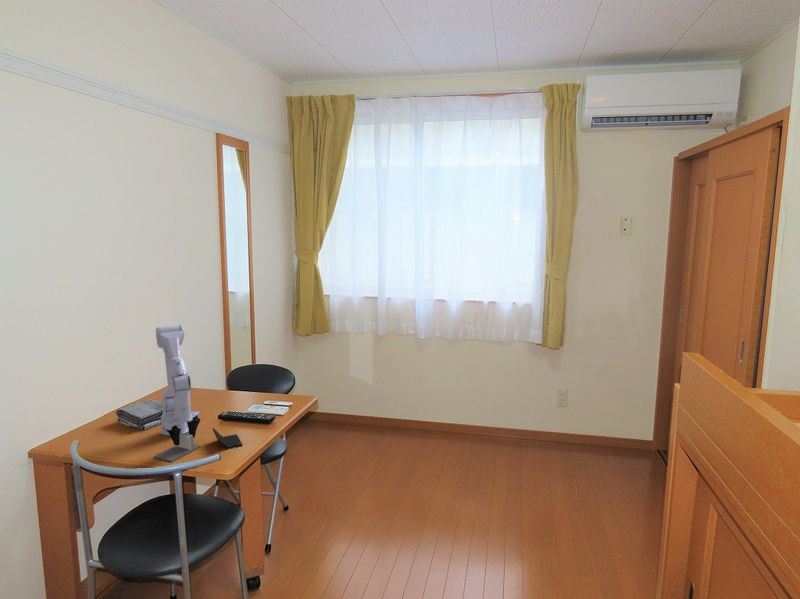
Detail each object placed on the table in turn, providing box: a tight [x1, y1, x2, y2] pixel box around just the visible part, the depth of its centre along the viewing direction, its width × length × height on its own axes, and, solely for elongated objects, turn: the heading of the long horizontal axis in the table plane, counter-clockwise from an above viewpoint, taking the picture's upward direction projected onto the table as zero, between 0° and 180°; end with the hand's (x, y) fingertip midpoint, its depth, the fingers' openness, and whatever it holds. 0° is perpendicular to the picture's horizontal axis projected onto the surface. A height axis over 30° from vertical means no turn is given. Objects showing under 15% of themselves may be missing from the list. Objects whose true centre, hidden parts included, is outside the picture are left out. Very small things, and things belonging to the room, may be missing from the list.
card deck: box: [176, 433, 194, 450], centre depth 192 cm, size 7×2×5 cm, turn 67°
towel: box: [115, 398, 163, 431], centre depth 218 cm, size 15×18×8 cm
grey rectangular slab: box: [152, 443, 202, 463], centre depth 189 cm, size 9×14×1 cm, turn 157°
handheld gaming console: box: [212, 427, 243, 450], centre depth 196 cm, size 12×7×10 cm
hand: (184, 440), depth 192 cm, fingers open, 7 cm apart
